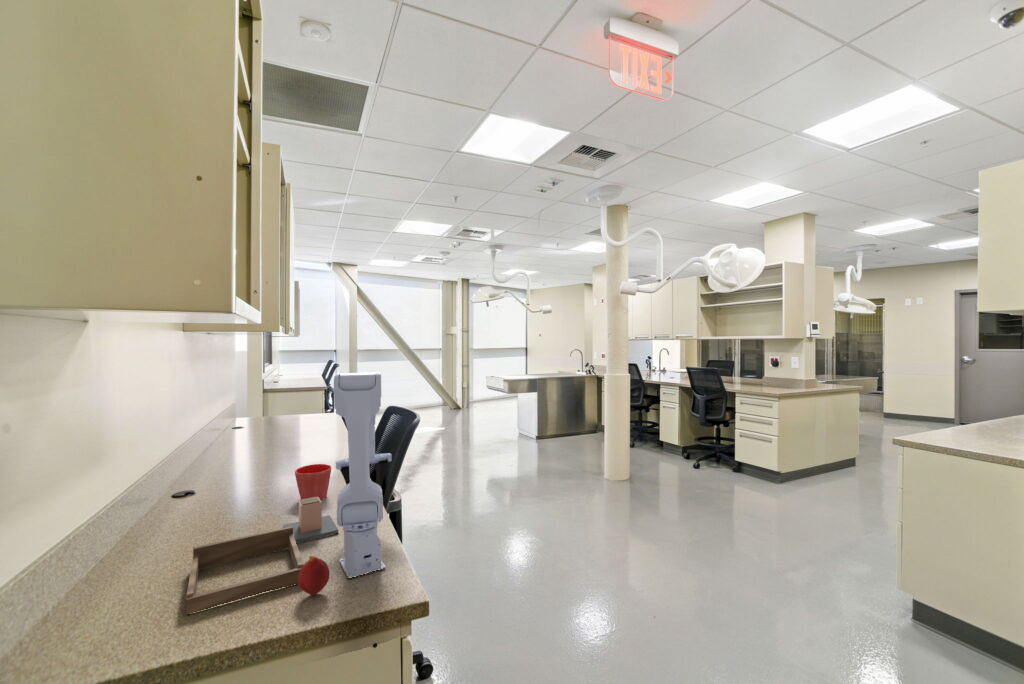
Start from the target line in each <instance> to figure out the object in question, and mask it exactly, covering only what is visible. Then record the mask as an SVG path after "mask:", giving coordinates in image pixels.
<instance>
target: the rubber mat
mask: <svg viewBox="0 0 1024 684" xmlns="http://www.w3.org/2000/svg"><path fill="white" fill-rule="evenodd" d="M290 526H293V535H294V538H295V541H296V543H297V544H299V543H298V542H301V543H303V542H302V541H305V542H308V541H307V540H309V541H312V540H311V539H313V540H316V539H315V538H318V539H321V538H320V537H322V538H325V537H324V536H326V537H328V536H327V535H330V536H333V535H332V534H334V535H337V534H336V533H338V534H339V528H338V527H337V525H336V524H335V522H334V521H333V518H332V517H331V515H330V514H328V515H322V528H321V529H317V530H312V531H308V532H303V533H301V531H300V528H299V521H295V522H291V523H287V524H282V528H286V527H290Z"/></svg>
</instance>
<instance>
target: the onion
mask: <svg viewBox="0 0 1024 684" xmlns="http://www.w3.org/2000/svg"><path fill="white" fill-rule="evenodd" d="M308 558H309V560H307V561H306V562H304V563H303V566H302V568H301V570H300V571H299V574H298V584H297V586H298V587H299V589H300V590H301V591H302V592H304V593H306V594H309V595H310V596H312V595H314V596H316V595H317V594H318V593H320V592H321V591H322V590H323V589H324V588H325V587H326V586H327V584H328V582H329V579H330V567H329V565H328V564H327V562H326V561H325V560H323V559H322V558H319V557H317V556H315V555H313V554H312V555H310V556H308ZM315 594H316V595H315Z"/></svg>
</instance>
